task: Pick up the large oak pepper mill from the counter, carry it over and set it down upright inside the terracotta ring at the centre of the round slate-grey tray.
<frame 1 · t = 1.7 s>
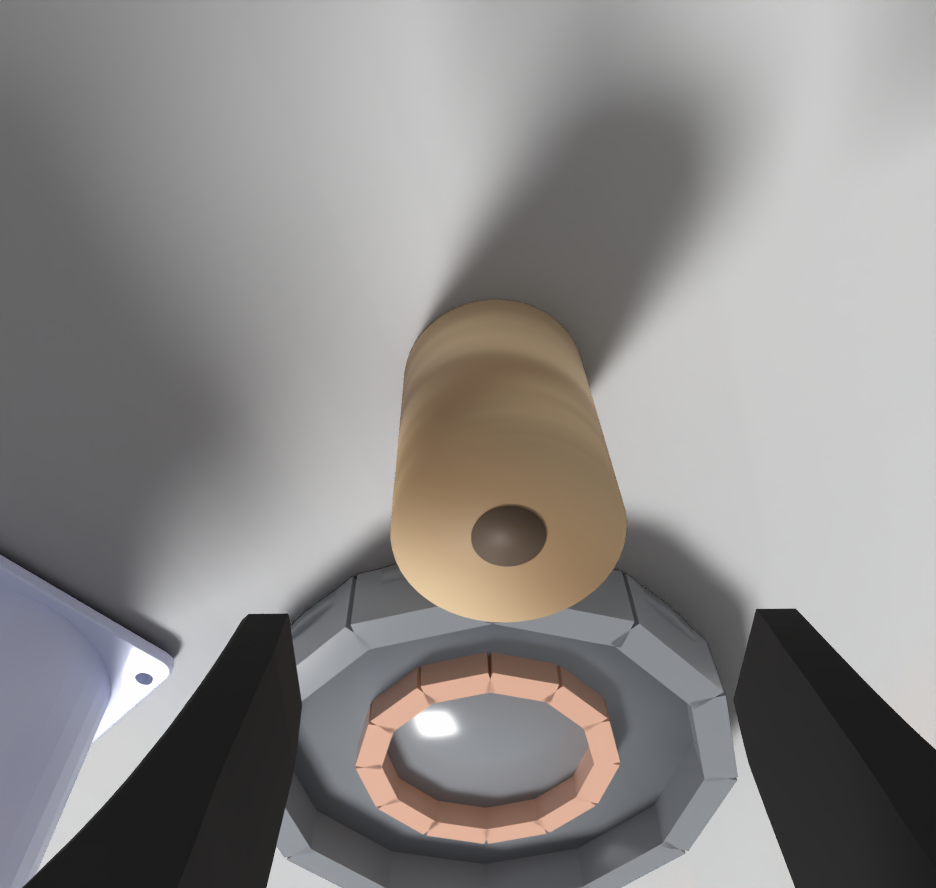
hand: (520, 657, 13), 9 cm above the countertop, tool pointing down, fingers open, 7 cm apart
round tray: (486, 728, 28), on the countertop
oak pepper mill: (493, 382, 21), on the countertop
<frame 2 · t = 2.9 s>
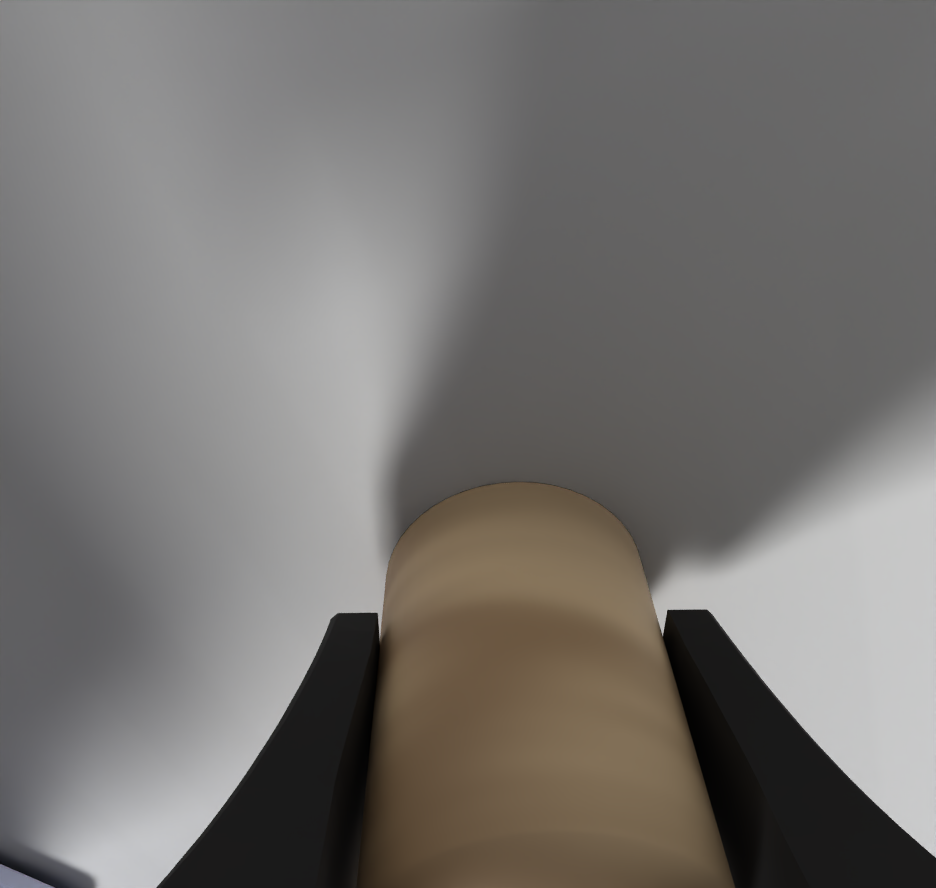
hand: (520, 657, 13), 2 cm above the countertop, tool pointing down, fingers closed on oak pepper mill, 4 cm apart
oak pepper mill: (513, 586, 15), on the countertop, touching gripper
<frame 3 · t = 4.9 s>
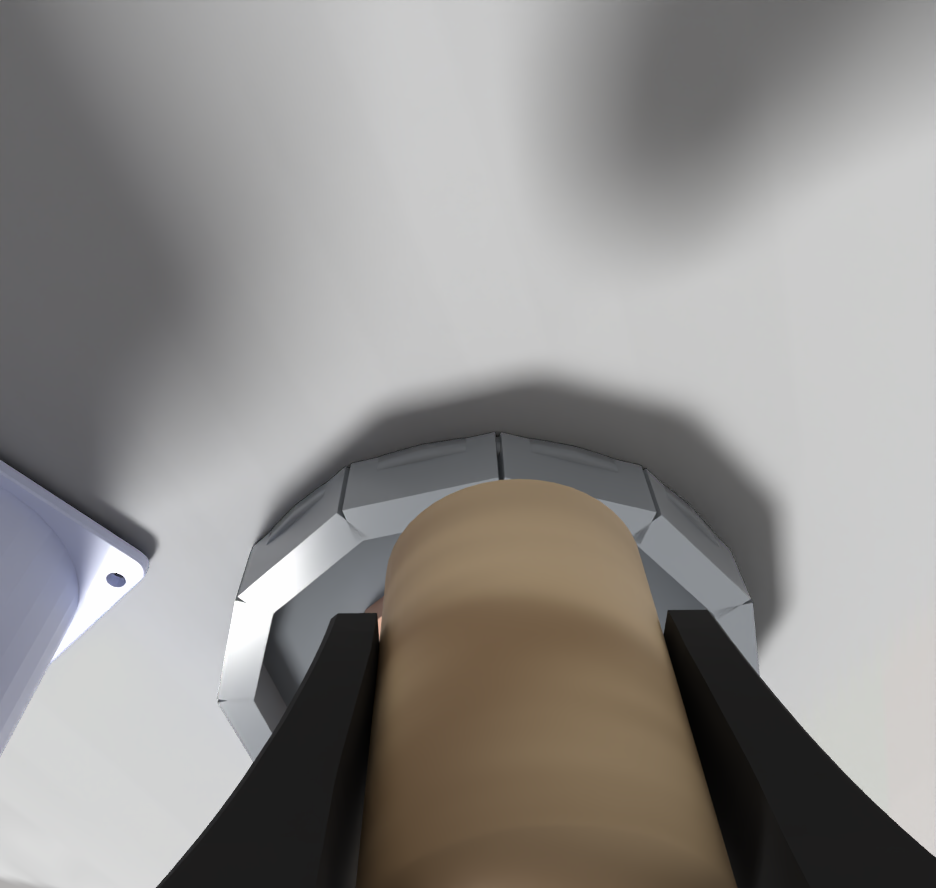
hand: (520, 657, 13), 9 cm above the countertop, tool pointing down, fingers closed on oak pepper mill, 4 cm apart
round tray: (488, 648, 26), on the countertop
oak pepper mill: (513, 584, 15), point 7 cm above the countertop, touching gripper
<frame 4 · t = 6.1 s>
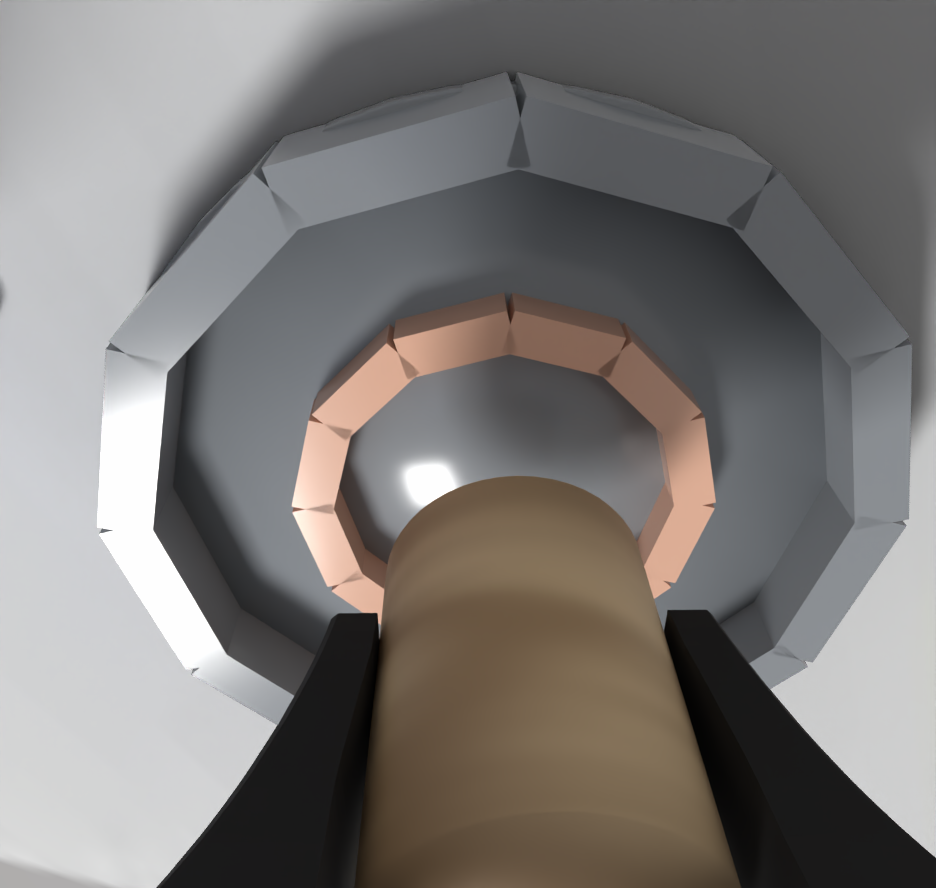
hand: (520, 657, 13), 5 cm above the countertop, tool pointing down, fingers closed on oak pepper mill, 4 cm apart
round tray: (500, 467, 18), on the countertop
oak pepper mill: (514, 582, 15), point 4 cm above the countertop, touching gripper
when the fingers open (3 cm above the countertop, at t = 6.9 s): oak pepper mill drops 1 cm, resting on round tray.
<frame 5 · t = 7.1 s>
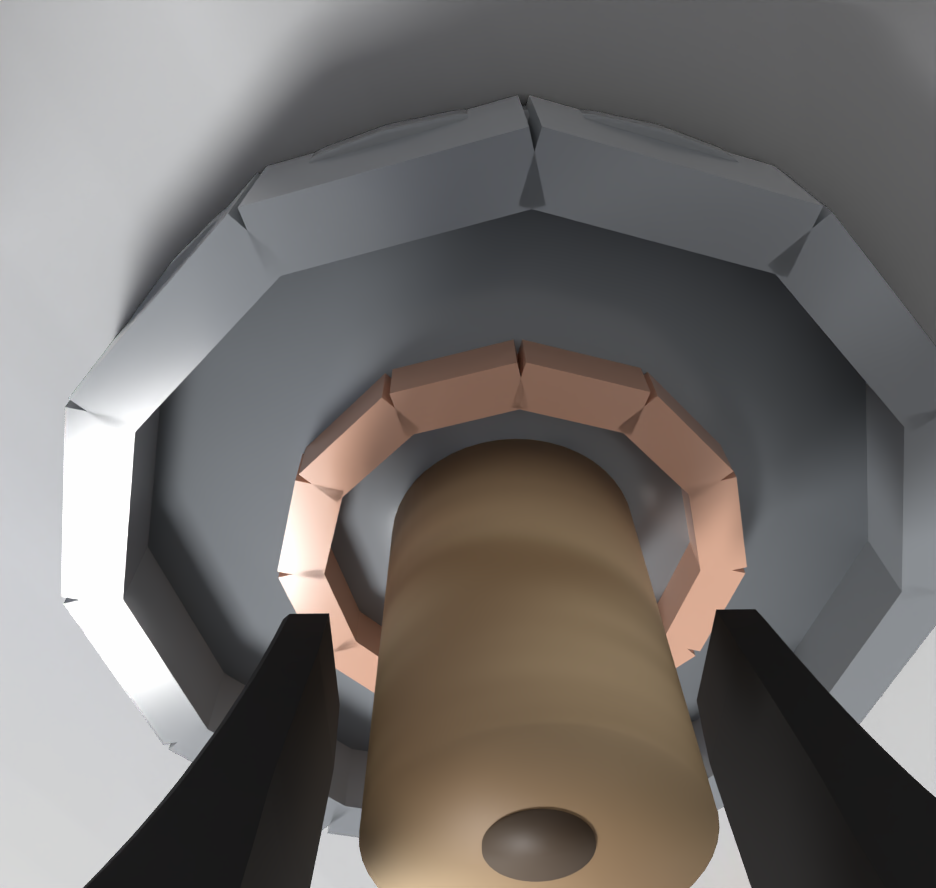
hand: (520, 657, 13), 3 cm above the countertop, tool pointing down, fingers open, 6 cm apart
round tray: (508, 523, 16), on the countertop
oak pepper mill: (512, 541, 16), point 1 cm above the countertop, touching round tray
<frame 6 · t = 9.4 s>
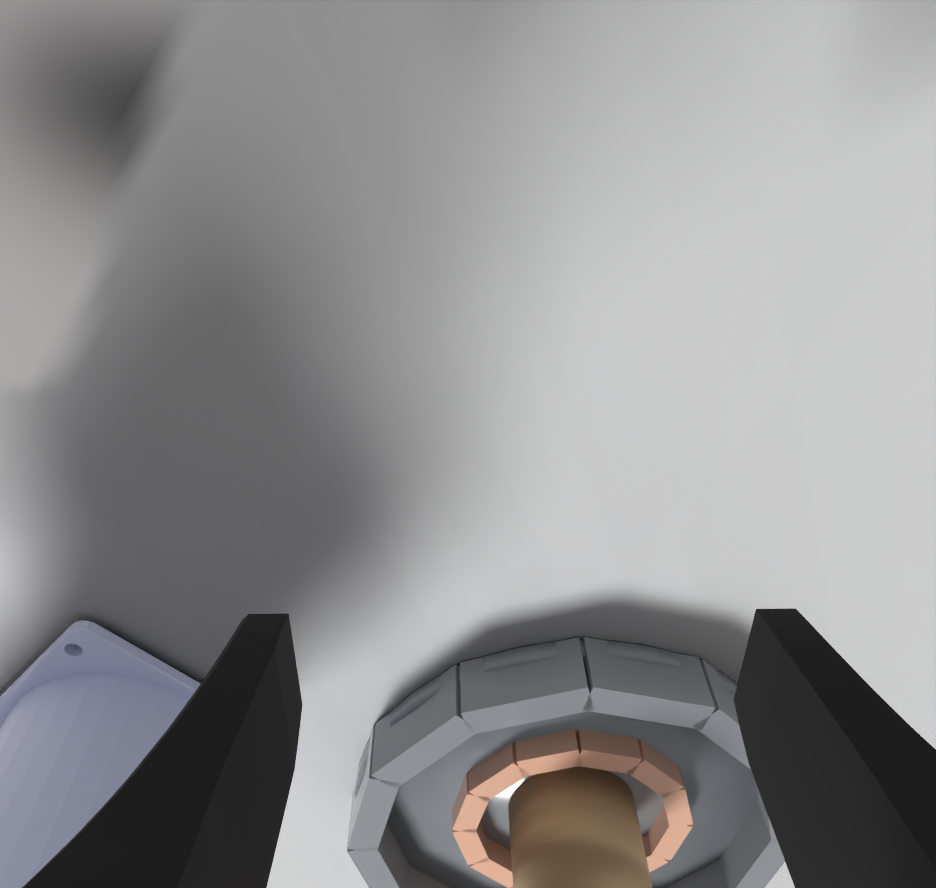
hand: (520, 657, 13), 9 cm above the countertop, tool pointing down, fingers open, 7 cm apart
round tray: (567, 792, 30), on the countertop
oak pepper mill: (571, 806, 30), point 1 cm above the countertop, touching round tray
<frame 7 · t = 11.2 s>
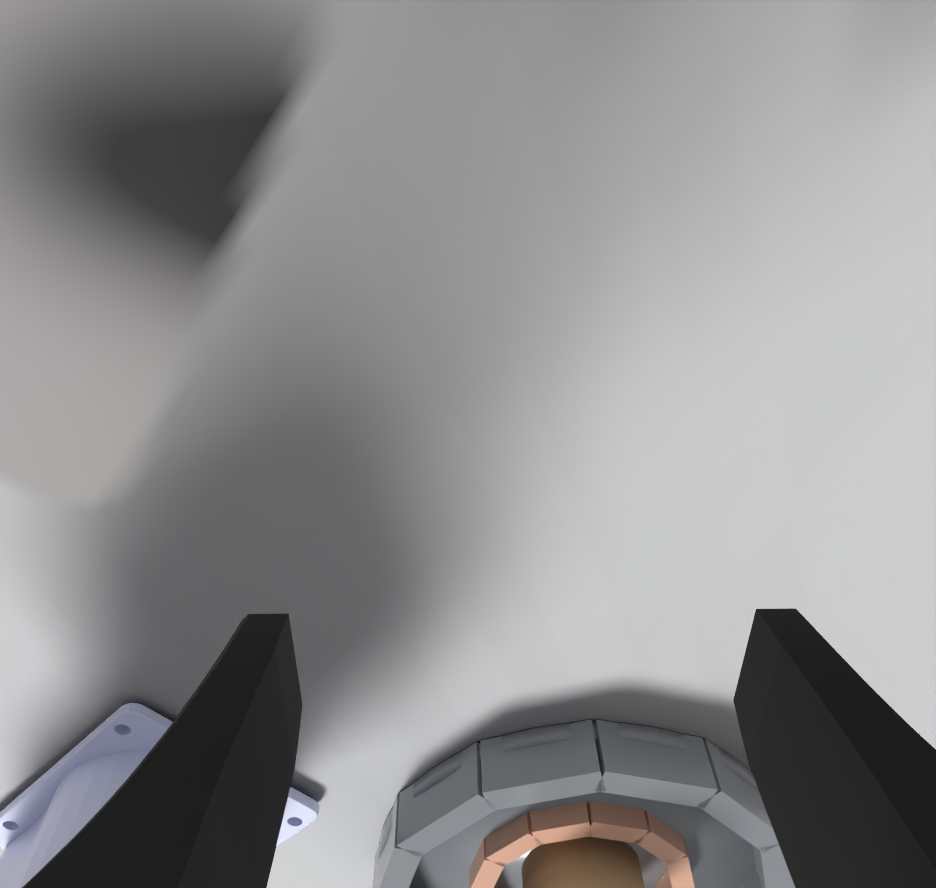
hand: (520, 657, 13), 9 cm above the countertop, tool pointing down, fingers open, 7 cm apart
round tray: (577, 854, 32), on the countertop
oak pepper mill: (580, 868, 32), point 1 cm above the countertop, touching round tray
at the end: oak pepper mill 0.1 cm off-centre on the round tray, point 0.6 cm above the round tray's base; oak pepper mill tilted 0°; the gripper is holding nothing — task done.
